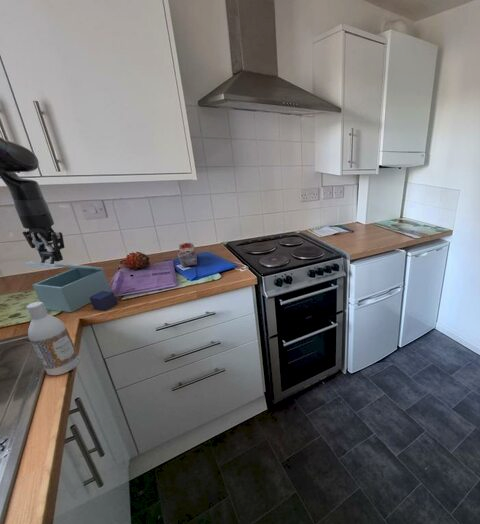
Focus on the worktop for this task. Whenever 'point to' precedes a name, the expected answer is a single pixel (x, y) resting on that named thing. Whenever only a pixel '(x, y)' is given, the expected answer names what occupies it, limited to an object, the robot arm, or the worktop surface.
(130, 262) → the dragon fruit
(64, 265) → the lid
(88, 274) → the light blue storage bin
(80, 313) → the worktop surface
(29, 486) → the worktop surface
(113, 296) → the block
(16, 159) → the robot arm
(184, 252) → the food item
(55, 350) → the bath foam
